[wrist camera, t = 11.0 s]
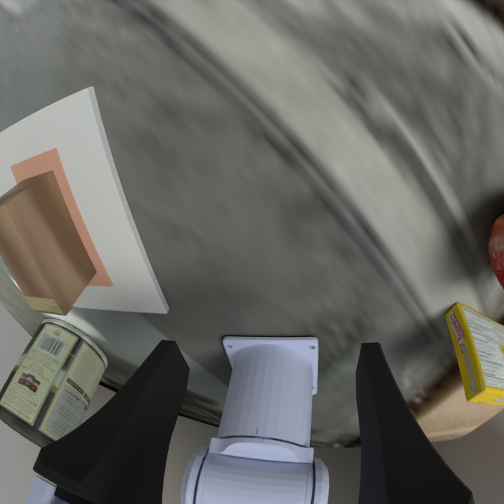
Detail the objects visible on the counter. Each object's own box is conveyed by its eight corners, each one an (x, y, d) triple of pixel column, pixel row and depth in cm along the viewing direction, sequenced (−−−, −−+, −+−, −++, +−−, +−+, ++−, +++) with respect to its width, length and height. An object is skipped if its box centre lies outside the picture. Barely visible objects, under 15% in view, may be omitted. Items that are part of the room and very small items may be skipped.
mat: (169, 308, 25) (166, 314, 24) (57, 301, 28) (54, 305, 27) (93, 86, 15) (86, 88, 14) (-16, 143, 18) (-22, 146, 17)
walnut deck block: (53, 170, 18) (4, 205, 14) (96, 271, 23) (65, 316, 19) (22, 180, 18) (-22, 214, 14) (65, 271, 24) (34, 312, 20)
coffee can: (72, 365, 37) (33, 444, 26) (30, 315, 31) (-23, 400, 20) (123, 374, 34) (84, 469, 23) (78, 318, 29) (17, 426, 18)
